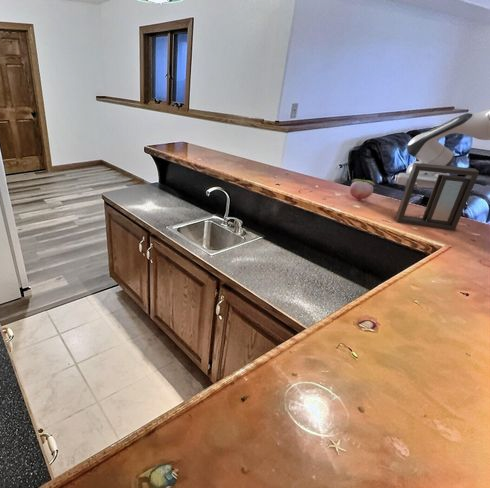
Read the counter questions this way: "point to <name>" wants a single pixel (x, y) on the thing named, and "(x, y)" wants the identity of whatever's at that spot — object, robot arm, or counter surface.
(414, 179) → the window frame
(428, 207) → the sash
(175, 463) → the counter surface
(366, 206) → the counter surface
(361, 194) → the decorative fruit
